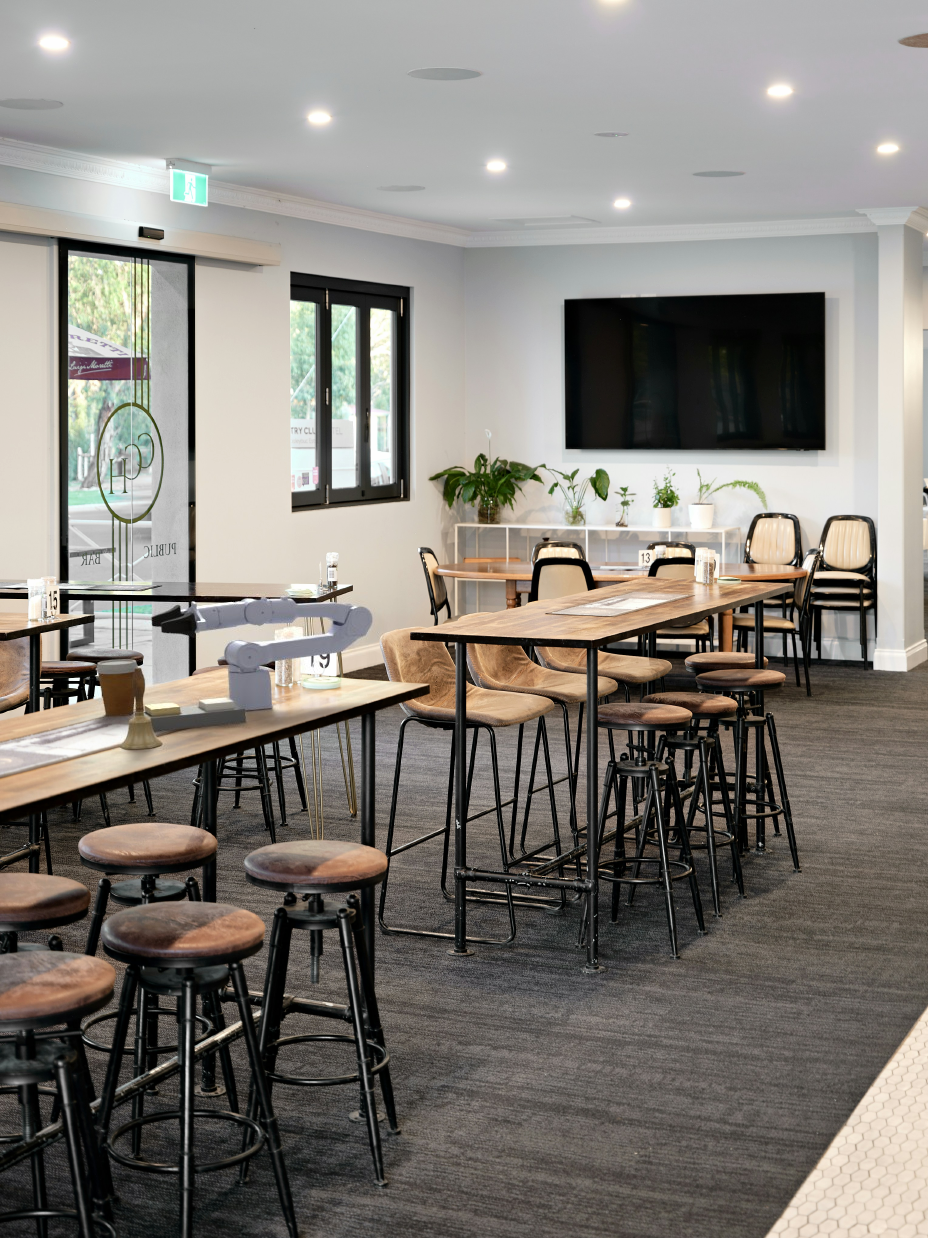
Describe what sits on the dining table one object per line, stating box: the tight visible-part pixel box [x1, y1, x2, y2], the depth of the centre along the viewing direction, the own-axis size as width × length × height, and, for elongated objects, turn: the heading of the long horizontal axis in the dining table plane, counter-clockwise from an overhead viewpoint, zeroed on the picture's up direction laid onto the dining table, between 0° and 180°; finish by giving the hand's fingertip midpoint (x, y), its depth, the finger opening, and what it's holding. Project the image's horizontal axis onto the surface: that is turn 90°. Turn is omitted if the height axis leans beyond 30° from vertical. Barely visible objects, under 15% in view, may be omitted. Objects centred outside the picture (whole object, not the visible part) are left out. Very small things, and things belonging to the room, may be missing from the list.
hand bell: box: [120, 667, 163, 750], centre depth 299 cm, size 8×8×16 cm
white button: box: [198, 696, 234, 711], centre depth 326 cm, size 6×6×3 cm
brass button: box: [144, 702, 181, 717], centre depth 321 cm, size 6×6×3 cm
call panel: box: [133, 703, 247, 733], centre depth 324 cm, size 22×11×3 cm, turn 115°
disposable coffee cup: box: [95, 658, 139, 717], centre depth 338 cm, size 10×10×12 cm
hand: (156, 624), depth 330 cm, fingers open, 7 cm apart
